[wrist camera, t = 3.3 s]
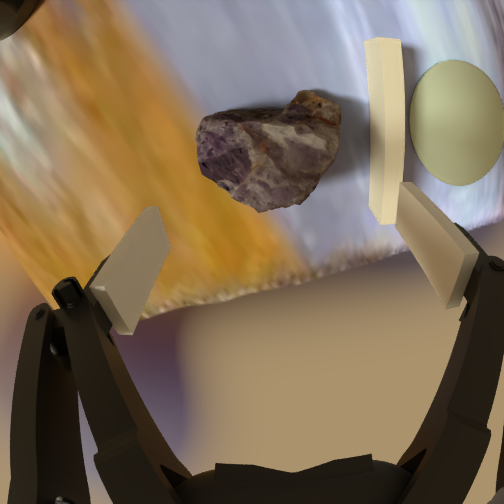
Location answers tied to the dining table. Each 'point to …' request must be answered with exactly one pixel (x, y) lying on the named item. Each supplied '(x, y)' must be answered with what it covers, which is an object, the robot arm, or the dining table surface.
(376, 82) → the rail
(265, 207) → the rock
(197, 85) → the dining table surface
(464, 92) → the felt pad
